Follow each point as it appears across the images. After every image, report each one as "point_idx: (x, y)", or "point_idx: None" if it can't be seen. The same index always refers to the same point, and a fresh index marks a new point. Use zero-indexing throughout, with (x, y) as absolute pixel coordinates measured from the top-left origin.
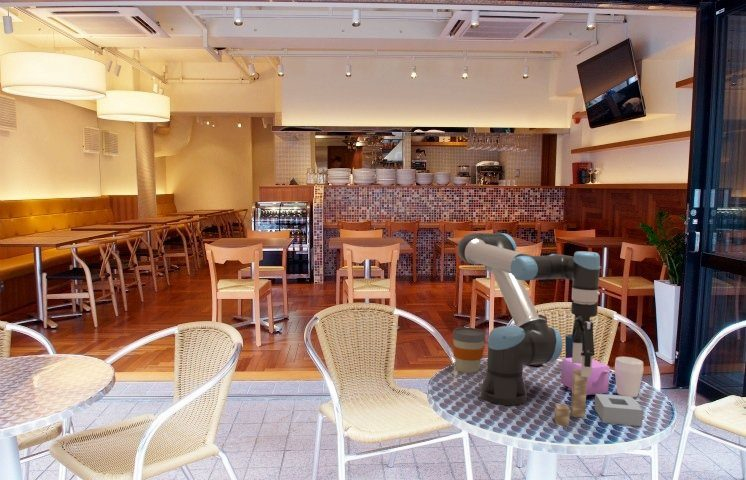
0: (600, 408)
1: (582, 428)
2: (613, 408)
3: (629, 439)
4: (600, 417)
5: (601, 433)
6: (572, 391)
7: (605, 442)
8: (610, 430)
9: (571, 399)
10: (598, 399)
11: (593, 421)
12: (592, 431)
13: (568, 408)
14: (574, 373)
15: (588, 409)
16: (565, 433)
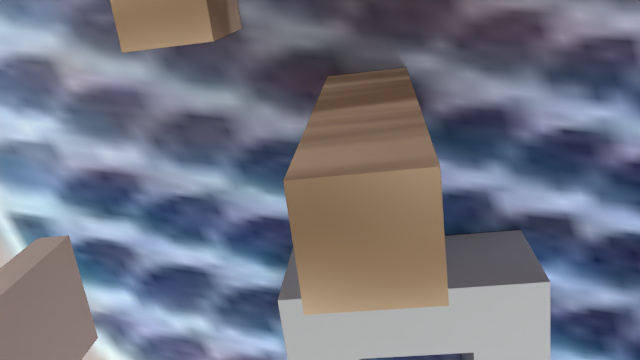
0: None
1: (156, 120)
2: (287, 351)
3: (120, 339)
4: None
5: (132, 217)
6: (393, 103)
7: (22, 221)
8: (197, 269)
9: (411, 84)
10: None
11: None
12: (137, 172)
13: (136, 44)
14: (344, 166)
15: (496, 190)
16: (30, 9)
